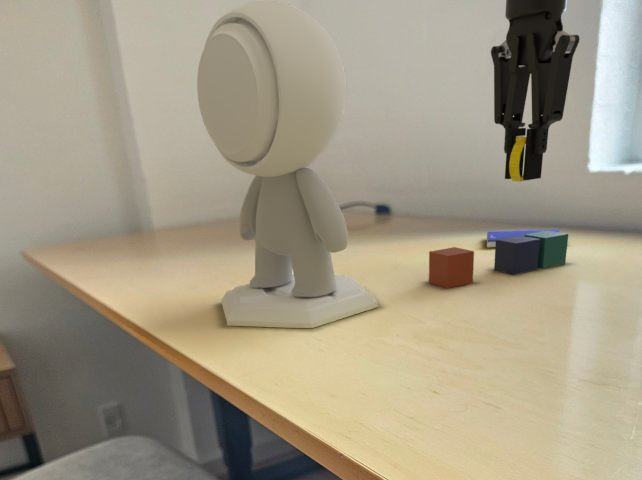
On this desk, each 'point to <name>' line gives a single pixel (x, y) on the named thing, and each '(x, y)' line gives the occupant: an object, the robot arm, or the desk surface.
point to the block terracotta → (451, 267)
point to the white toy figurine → (280, 160)
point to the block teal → (551, 248)
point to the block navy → (516, 254)
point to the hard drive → (508, 235)
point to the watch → (516, 158)
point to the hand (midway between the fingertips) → (522, 178)
